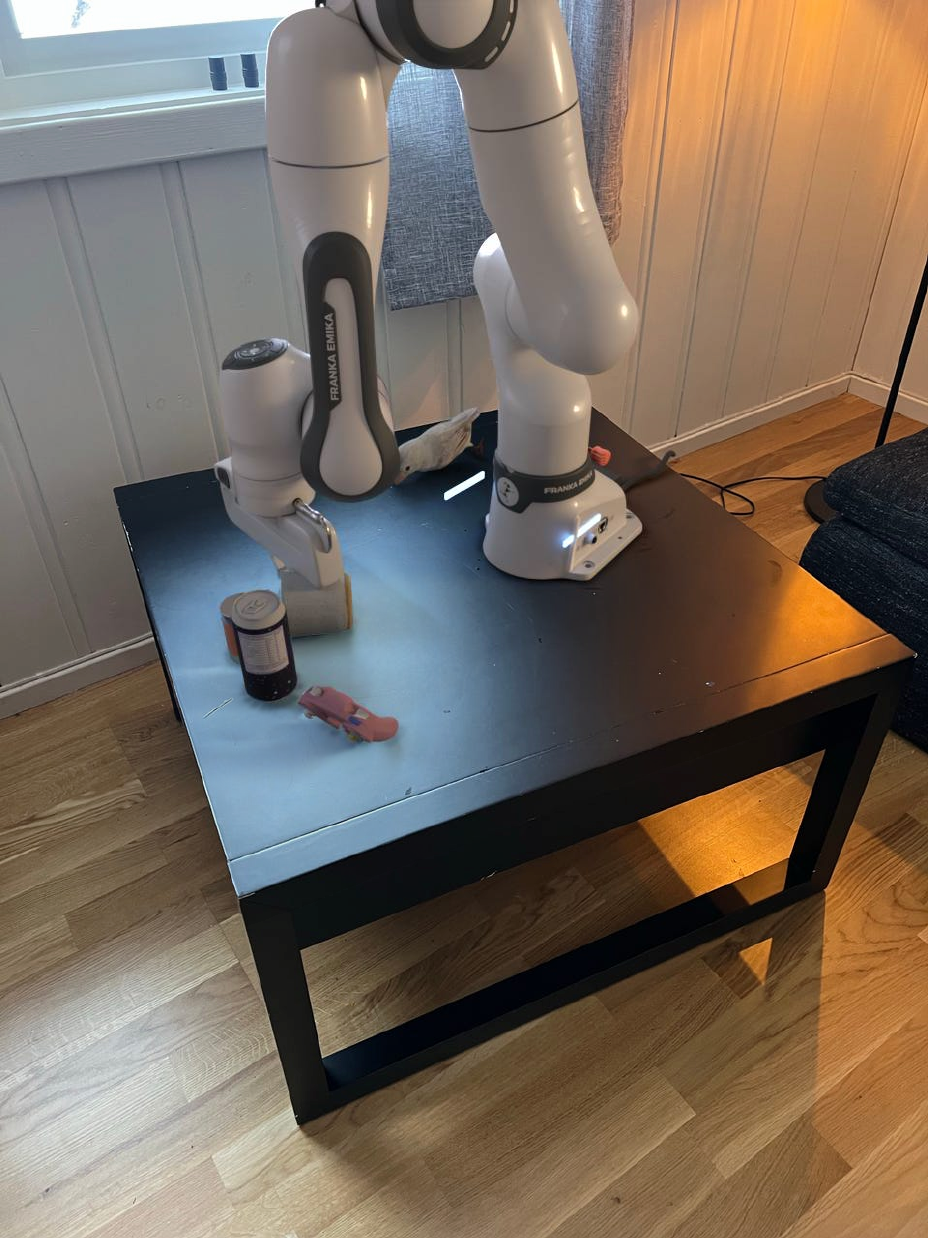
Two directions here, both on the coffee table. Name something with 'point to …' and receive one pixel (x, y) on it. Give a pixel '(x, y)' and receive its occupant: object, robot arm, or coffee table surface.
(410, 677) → the coffee table surface
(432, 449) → the decorative bird
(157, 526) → the coffee table surface
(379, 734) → the red toy car
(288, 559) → the robot arm
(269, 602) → the beverage can
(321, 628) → the ceramic mug
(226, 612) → the food tin
